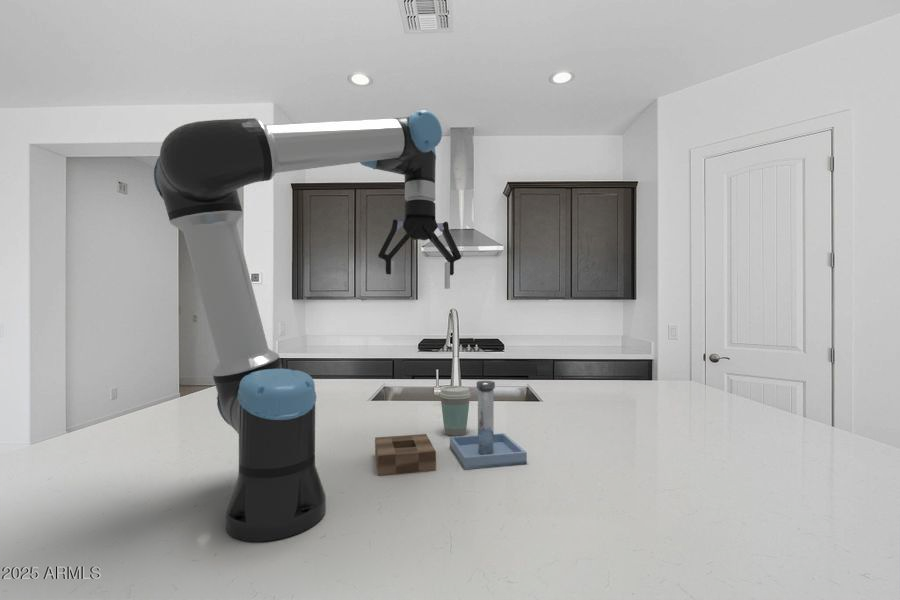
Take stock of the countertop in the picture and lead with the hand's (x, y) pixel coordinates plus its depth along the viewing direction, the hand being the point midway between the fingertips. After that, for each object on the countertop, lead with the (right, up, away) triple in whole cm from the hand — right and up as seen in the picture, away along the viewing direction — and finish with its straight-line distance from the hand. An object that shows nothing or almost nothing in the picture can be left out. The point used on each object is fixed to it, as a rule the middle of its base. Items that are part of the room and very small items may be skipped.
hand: (420, 288), depth 103 cm
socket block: (-3, -39, -10) cm, 40 cm away
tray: (+16, -39, -6) cm, 42 cm away
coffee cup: (+9, -39, +11) cm, 41 cm away
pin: (+16, -38, -6) cm, 42 cm away
